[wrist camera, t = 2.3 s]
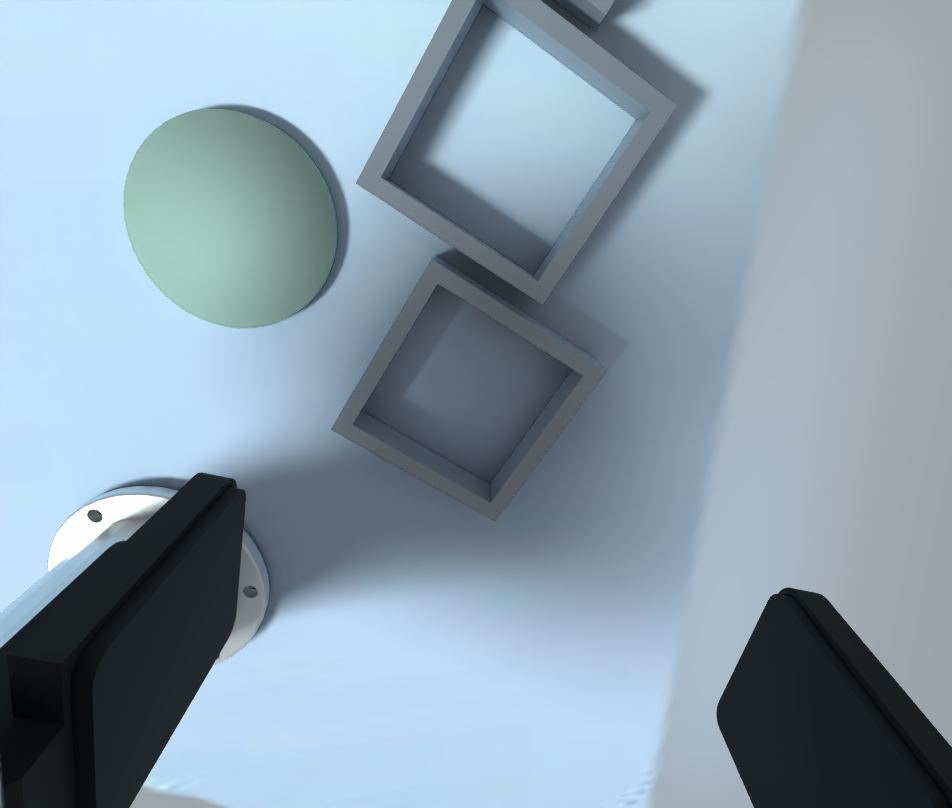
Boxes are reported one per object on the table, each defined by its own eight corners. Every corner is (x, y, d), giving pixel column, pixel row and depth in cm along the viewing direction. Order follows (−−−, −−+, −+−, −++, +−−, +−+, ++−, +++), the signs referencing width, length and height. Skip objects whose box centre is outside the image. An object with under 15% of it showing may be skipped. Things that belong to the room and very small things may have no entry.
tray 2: (493, 501, 33) (495, 521, 30) (340, 414, 31) (331, 429, 29) (596, 359, 30) (606, 371, 28) (435, 255, 28) (431, 259, 26)
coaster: (282, 361, 30) (278, 364, 29) (101, 257, 28) (93, 258, 27) (374, 191, 27) (372, 190, 26) (178, 63, 25) (172, 59, 25)
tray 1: (537, 297, 29) (542, 305, 27) (365, 185, 27) (355, 183, 25) (660, 113, 26) (677, 105, 24) (477, -27, 24) (477, -49, 22)
